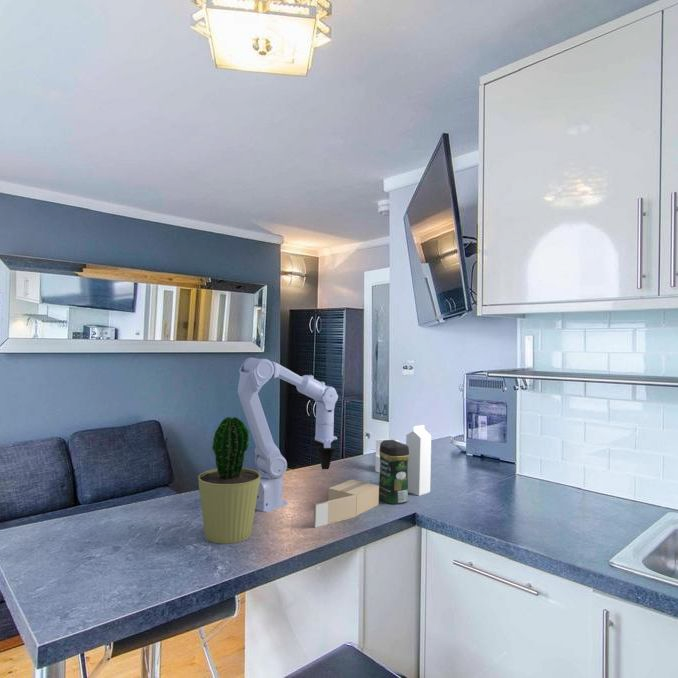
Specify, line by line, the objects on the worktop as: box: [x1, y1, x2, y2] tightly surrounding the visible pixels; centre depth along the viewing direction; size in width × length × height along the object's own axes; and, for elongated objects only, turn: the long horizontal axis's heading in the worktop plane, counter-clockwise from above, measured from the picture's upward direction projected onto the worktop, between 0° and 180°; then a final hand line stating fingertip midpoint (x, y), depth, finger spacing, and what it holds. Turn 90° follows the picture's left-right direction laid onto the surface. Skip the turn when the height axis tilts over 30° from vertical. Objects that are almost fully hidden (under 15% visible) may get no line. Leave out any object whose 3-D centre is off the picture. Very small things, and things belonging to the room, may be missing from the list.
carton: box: [327, 479, 380, 517], centre depth 142 cm, size 12×10×6 cm
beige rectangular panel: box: [313, 495, 357, 529], centre depth 129 cm, size 1×14×6 cm, turn 129°
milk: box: [405, 424, 432, 497], centre depth 158 cm, size 6×6×22 cm
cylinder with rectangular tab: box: [374, 437, 400, 474], centre depth 183 cm, size 9×9×12 cm
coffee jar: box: [378, 439, 409, 505], centre depth 149 cm, size 10×8×19 cm
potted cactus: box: [197, 416, 261, 545], centre depth 120 cm, size 15×15×30 cm
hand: (323, 465), depth 152 cm, fingers open, 7 cm apart
